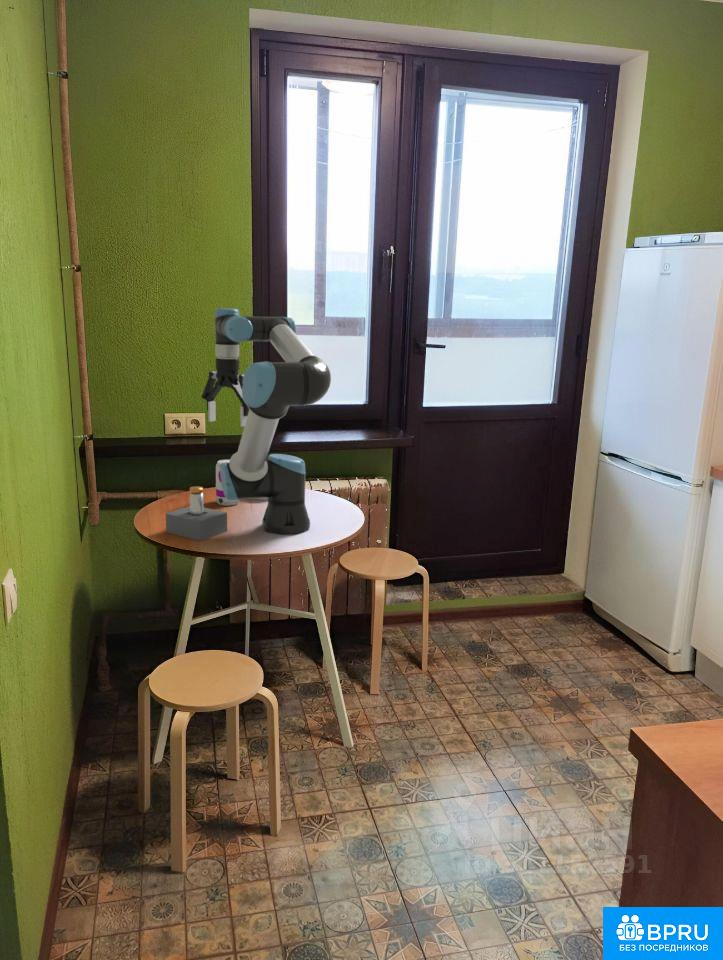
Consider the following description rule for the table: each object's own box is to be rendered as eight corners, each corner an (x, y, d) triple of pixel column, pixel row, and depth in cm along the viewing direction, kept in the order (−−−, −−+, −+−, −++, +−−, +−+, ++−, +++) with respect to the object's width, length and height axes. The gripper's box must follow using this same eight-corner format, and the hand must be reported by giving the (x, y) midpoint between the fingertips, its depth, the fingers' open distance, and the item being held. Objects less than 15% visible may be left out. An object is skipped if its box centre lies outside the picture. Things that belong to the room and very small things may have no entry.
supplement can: (237, 506, 257) (237, 464, 253) (213, 505, 257) (213, 463, 253) (241, 500, 265) (241, 459, 261) (218, 499, 265) (218, 458, 261)
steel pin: (206, 531, 229) (205, 487, 226) (197, 534, 226) (196, 490, 222) (196, 528, 231) (196, 485, 228) (187, 532, 228) (186, 488, 224)
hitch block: (227, 531, 230) (227, 512, 229) (200, 541, 220) (200, 521, 218) (193, 522, 237) (193, 505, 235) (166, 532, 227) (165, 513, 225)
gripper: (265, 360, 233) (265, 426, 238) (206, 354, 245) (207, 417, 250) (250, 361, 226) (250, 429, 231) (190, 355, 239) (191, 420, 244)
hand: (227, 423), depth 241 cm, fingers open, 13 cm apart
